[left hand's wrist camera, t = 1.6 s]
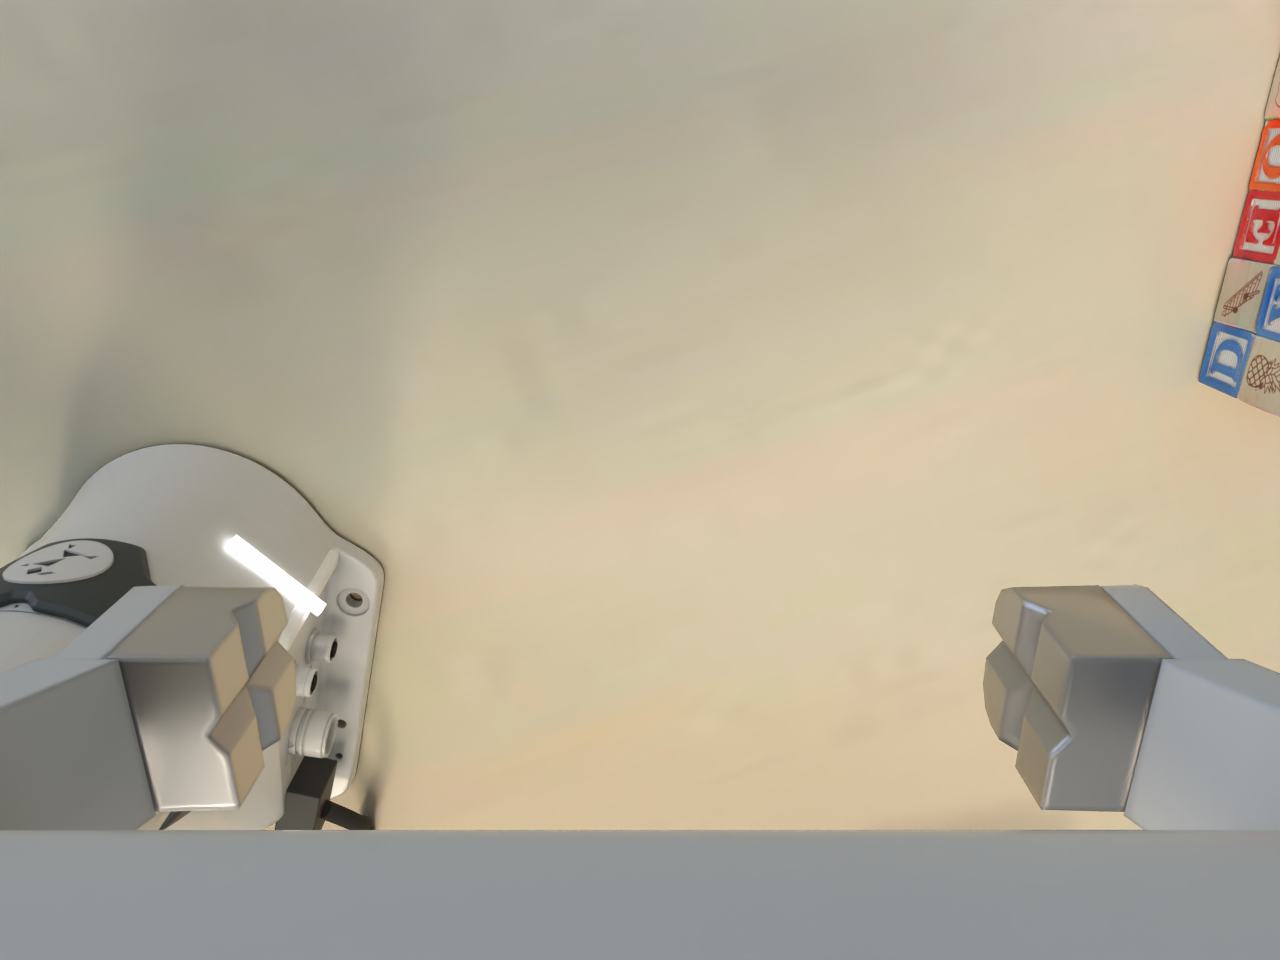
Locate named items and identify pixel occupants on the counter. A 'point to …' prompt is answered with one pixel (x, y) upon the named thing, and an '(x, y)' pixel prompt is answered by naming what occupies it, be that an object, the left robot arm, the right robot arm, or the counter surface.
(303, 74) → the counter surface
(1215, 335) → the stack of blocks
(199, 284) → the counter surface
